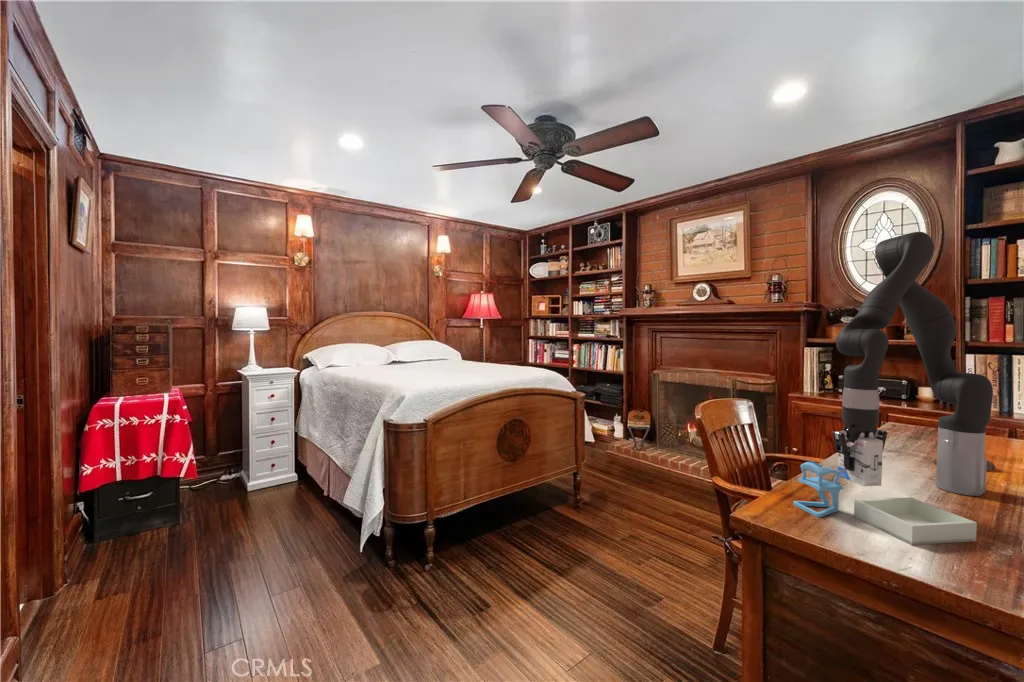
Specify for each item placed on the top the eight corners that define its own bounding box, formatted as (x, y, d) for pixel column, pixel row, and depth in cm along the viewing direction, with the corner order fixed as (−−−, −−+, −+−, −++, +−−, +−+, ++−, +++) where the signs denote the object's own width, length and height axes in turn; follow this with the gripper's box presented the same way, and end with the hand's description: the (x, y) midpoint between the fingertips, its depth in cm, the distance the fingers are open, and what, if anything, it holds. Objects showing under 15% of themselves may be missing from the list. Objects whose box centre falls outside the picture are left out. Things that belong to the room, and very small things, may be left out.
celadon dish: (911, 513, 107) (911, 497, 107) (976, 541, 93) (976, 522, 93) (853, 516, 105) (854, 500, 105) (911, 545, 91) (912, 526, 91)
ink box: (836, 475, 118) (837, 432, 117) (853, 474, 118) (854, 431, 118) (865, 487, 109) (866, 441, 109) (883, 486, 110) (884, 440, 109)
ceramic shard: (909, 442, 153) (951, 448, 153) (908, 460, 153) (950, 466, 153) (951, 448, 139) (998, 455, 139) (950, 469, 138) (997, 476, 138)
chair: (847, 515, 106) (849, 466, 105) (818, 517, 104) (819, 468, 104) (820, 502, 113) (821, 457, 113) (792, 504, 112) (793, 458, 112)
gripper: (871, 401, 117) (870, 463, 118) (823, 403, 116) (822, 466, 116) (899, 407, 110) (897, 473, 111) (848, 409, 108) (847, 476, 109)
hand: (859, 469), depth 114 cm, fingers closed on ink box, 5 cm apart
